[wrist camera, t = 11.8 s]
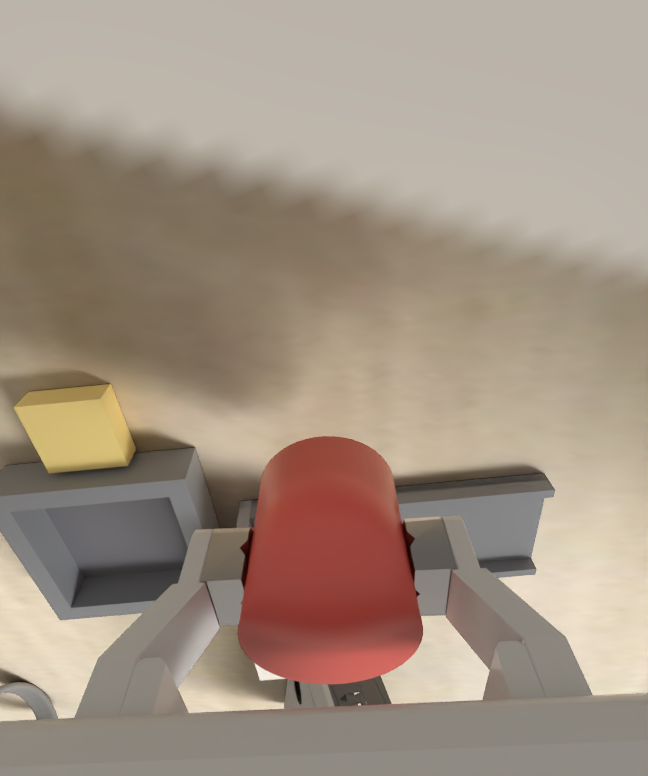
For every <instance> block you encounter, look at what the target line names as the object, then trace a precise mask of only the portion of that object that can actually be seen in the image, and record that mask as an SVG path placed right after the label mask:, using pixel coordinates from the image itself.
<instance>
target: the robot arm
mask: <svg viewBox="0 0 648 776" xmlns="http://www.w3.org/2000/svg"><path fill="white" fill-rule="evenodd" d="M402 525H403V530H404V535H405V540H406V545H407V550H408V555H409V560H410V565H411V570H412V575H413V580H414V585H415V590H416V595H417V600H418V605H419V610H420V615H421V616H436V615H446V618H447V619H448V620H449V621H450V623H451V624H452V625H453V626H454V627H455V629H456V630H457V631H458V632H459V634H460V635H461V636H462V637H463V638H464V640H465V641H466V642H467V643H468V644H469V646H470V647H471V648H472V649H473V650H474V652H475V653H476V654H477V655H478V656H479V658H480V659H481V660H482V661H483V663H484V664H485V665H486V666H487V667H488V669H489V670H490V672H489V676H488V680H487V684H486V688H485V692H484V696H483V700H477V701H454V702H431V703H407V704H384V705H361V706H338V707H315V708H293V709H270V710H248V711H225V712H202V713H189V712H188V710H187V708H186V706H185V704H184V701H183V699H182V697H181V695H180V693H179V691H178V687H179V686H180V684H181V683H182V681H183V680H184V679H185V677H186V676H187V674H188V673H189V671H190V670H191V669H192V667H193V666H194V664H195V663H196V662H197V660H198V659H199V657H200V656H201V654H202V653H203V652H204V650H205V649H206V647H207V646H208V645H209V643H210V642H211V640H212V639H213V637H214V636H215V635H216V633H217V632H218V630H219V629H220V627H219V626H229V625H239V620H240V614H241V607H242V601H243V594H244V588H245V581H246V575H247V568H248V562H249V555H250V549H251V542H252V536H253V529H252V528H222V529H198V530H195V531H194V533H193V534H192V537H191V540H190V544H189V547H188V550H187V554H186V557H185V561H184V564H183V567H182V571H181V574H180V578H179V581H178V584H172V585H171V586H170V587H169V588H168V589H167V590H166V591H165V592H164V593H163V594H162V595H161V596H160V597H159V598H158V599H157V600H156V601H155V602H154V603H153V604H152V605H151V606H150V607H149V608H148V609H147V610H146V611H145V612H144V613H143V614H142V615H141V616H140V617H139V618H138V619H137V620H136V621H135V622H134V623H133V624H132V625H131V626H130V627H129V628H128V629H127V630H126V631H125V632H124V633H123V634H122V635H121V636H120V637H119V638H118V639H117V640H116V641H115V642H114V643H113V644H112V645H111V646H110V647H109V648H108V649H107V650H106V651H105V652H104V653H103V654H102V655H101V656H100V657H99V658H98V660H97V663H96V665H95V668H94V670H93V673H92V675H91V678H90V680H89V683H88V685H87V688H86V690H85V693H84V695H83V698H82V700H81V703H80V705H79V708H78V710H77V713H76V715H75V718H65V719H42V720H19V721H0V776H648V693H636V694H614V695H592V693H591V690H590V688H589V686H588V684H587V682H586V680H585V677H584V675H583V673H582V671H581V669H580V667H579V664H578V662H577V660H576V658H575V656H574V654H573V651H572V649H571V647H570V645H569V643H568V641H567V639H566V637H565V636H564V635H563V634H562V633H560V632H559V631H558V630H557V629H556V628H555V627H554V626H552V625H551V624H550V623H549V622H548V621H547V620H545V619H544V618H543V617H542V616H541V615H540V614H538V613H537V612H536V611H535V610H534V609H533V608H532V607H530V606H529V605H528V604H527V603H526V602H525V601H523V600H522V599H521V598H520V597H519V596H518V595H517V594H515V593H514V592H513V591H512V590H511V589H510V588H508V587H507V586H506V585H505V584H504V583H503V582H502V581H500V580H499V579H498V578H497V577H496V576H495V575H493V574H492V573H491V572H490V571H489V570H488V569H486V568H480V566H479V563H478V560H477V558H476V555H475V552H474V549H473V546H472V543H471V541H470V538H469V535H468V532H467V529H466V526H465V524H464V521H463V518H462V517H461V516H444V517H440V516H439V517H424V518H409V519H403V523H402Z"/></svg>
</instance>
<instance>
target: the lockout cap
mask: <svg viewBox="0 0 648 776" xmlns="http://www.w3.org/2000/svg"><path fill="white" fill-rule="evenodd" d="M422 636H423V625H422V620H421V615H420V610H419V605H418V600H417V595H416V590H415V585H414V580H413V575H412V570H411V565H410V560H409V555H408V550H407V545H406V540H405V535H404V530H403V525H402V519H401V514H400V509H399V504H398V499H397V494H396V489H395V484H394V479H393V475H392V472H391V469H390V467H389V466H388V464H387V462H386V461H385V460H384V459H383V458H382V456H381V455H379V454H378V453H377V452H376V451H375V450H373V449H372V448H370V447H368V446H367V445H364V444H362V443H360V442H357V441H354V440H351V439H347V438H342V437H314V438H309V439H305V440H302V441H299V442H296V443H294V444H292V445H289V446H288V447H286V448H284V449H283V450H281V451H280V452H279V453H277V454H276V455H275V456H274V457H273V458H272V459H271V460H270V462H269V463H268V464H267V466H266V468H265V470H264V472H263V475H262V478H261V484H260V490H259V497H258V503H257V510H256V516H255V523H254V529H253V536H252V542H251V549H250V555H249V562H248V568H247V575H246V581H245V588H244V594H243V601H242V607H241V614H240V620H239V627H238V639H239V643H240V645H241V648H242V649H243V651H244V653H245V654H246V655H247V656H248V657H249V658H250V660H252V661H253V662H254V663H255V664H257V665H258V666H260V667H261V668H263V669H264V670H266V671H268V672H270V673H272V674H275V675H277V676H280V677H283V678H286V679H290V680H294V681H299V682H304V683H312V684H345V683H352V682H358V681H363V680H367V679H371V678H374V677H377V676H380V675H383V674H385V673H387V672H389V671H391V670H394V669H395V668H397V667H398V666H400V665H402V664H403V663H404V662H406V661H407V660H408V659H409V658H410V657H411V656H412V655H413V654H414V653H415V651H416V650H417V649H418V647H419V645H420V643H421V640H422Z"/></svg>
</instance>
